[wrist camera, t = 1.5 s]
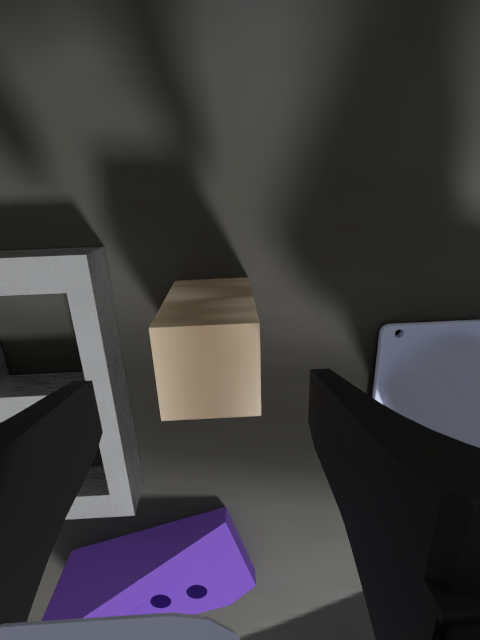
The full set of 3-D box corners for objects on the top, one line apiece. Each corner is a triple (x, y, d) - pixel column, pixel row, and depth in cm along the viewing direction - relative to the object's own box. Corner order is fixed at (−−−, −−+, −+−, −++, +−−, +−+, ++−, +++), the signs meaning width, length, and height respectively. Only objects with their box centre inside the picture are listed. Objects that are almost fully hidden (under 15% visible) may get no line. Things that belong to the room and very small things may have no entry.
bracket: (113, 602, 29) (81, 722, 22) (73, 546, 26) (24, 662, 20) (254, 564, 28) (263, 678, 21) (225, 503, 25) (225, 609, 19)
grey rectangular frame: (104, 246, 18) (86, 254, 16) (143, 483, 24) (134, 515, 22) (-52, 252, 18) (-93, 262, 16) (24, 490, 24) (2, 523, 22)
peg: (248, 277, 19) (259, 323, 13) (250, 343, 21) (261, 415, 14) (175, 280, 19) (148, 327, 13) (181, 347, 21) (161, 420, 14)
